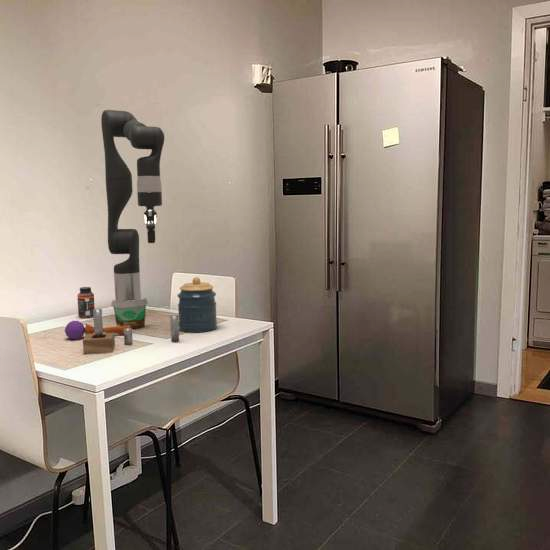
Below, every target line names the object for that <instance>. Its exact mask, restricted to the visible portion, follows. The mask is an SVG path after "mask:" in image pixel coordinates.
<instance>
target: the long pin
mask: <svg viewBox="0 0 550 550" xmlns="http://www.w3.org/2000/svg"><path fill="white" fill-rule="evenodd" d="M93 316H94V317H93V327H94V333H93V334H95V338H103V328H104V327H103V326H104V325H103V324H104V323H103V322H104V321H103V309H102V308H95V309H94V310H93Z"/></svg>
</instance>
